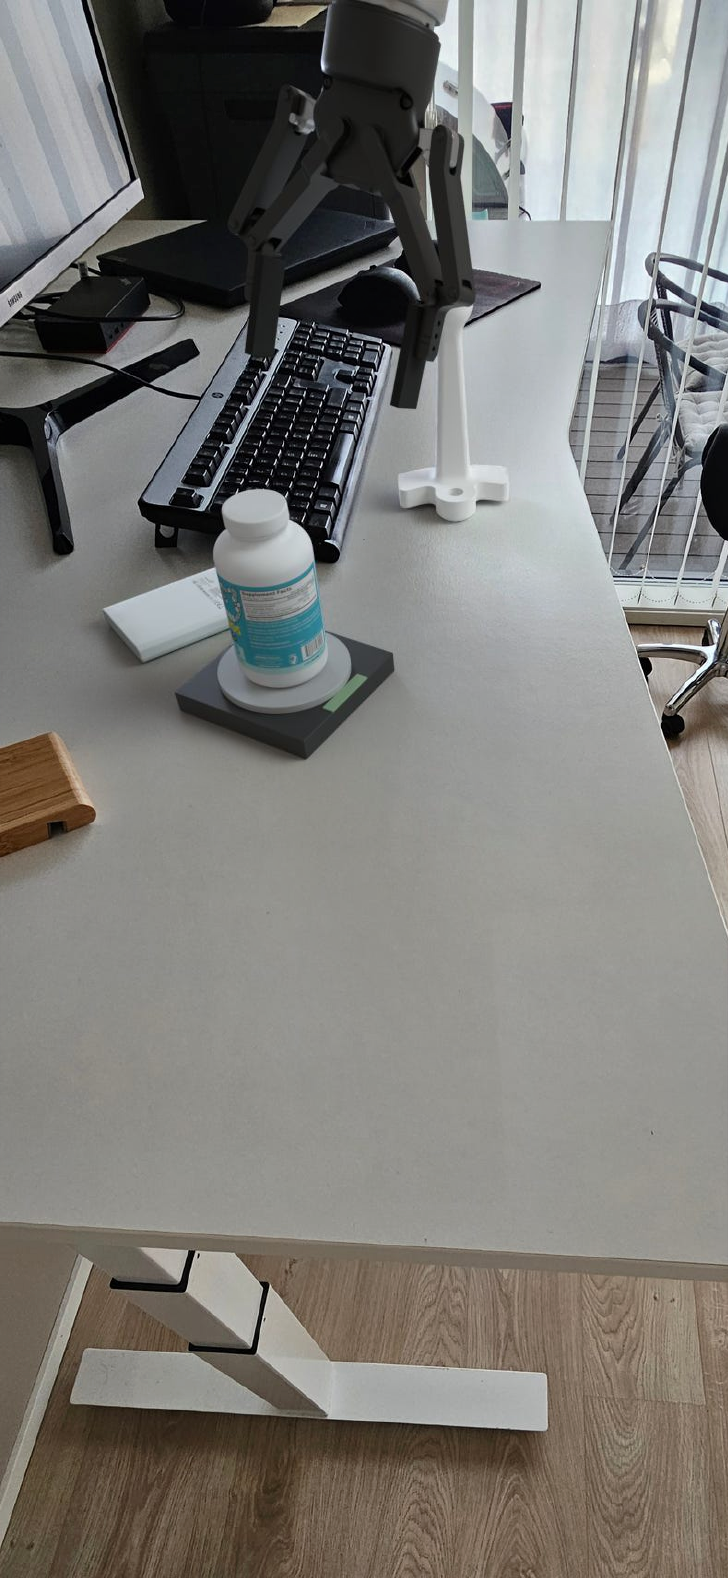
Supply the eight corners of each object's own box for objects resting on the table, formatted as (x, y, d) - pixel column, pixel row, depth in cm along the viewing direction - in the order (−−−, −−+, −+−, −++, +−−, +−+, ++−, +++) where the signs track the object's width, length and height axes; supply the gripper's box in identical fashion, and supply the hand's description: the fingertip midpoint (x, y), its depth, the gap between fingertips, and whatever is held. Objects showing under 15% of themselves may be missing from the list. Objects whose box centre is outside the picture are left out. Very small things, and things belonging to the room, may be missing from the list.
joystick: (504, 483, 103) (507, 259, 88) (512, 519, 99) (518, 290, 83) (398, 490, 103) (383, 268, 88) (402, 527, 99) (386, 299, 83)
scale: (179, 710, 82) (171, 685, 80) (272, 629, 89) (268, 604, 87) (306, 759, 78) (302, 734, 76) (395, 670, 84) (392, 645, 82)
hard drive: (106, 623, 90) (227, 576, 94) (143, 665, 86) (268, 615, 90) (100, 607, 89) (223, 560, 93) (138, 649, 85) (265, 598, 89)
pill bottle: (244, 639, 83) (209, 480, 73) (331, 636, 83) (309, 476, 73) (234, 694, 79) (195, 533, 68) (326, 691, 79) (302, 529, 68)
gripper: (578, 70, 63) (489, 430, 75) (269, -1, 70) (233, 339, 82) (531, 33, 58) (443, 430, 69) (199, -41, 64) (171, 331, 76)
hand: (329, 381), depth 76 cm, fingers open, 13 cm apart
